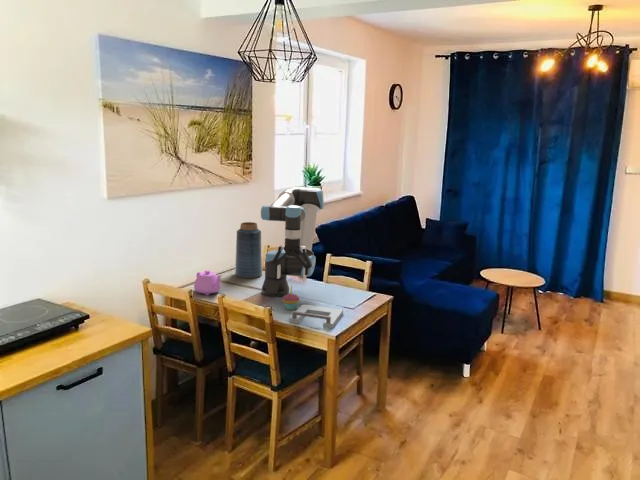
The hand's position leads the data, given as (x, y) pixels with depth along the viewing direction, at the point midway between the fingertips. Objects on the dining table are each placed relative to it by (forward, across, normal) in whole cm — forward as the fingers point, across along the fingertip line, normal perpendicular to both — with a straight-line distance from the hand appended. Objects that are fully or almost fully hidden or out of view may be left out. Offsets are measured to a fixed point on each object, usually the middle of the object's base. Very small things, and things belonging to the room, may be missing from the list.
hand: (291, 279), depth 260 cm
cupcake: (+15, 0, 0) cm, 15 cm away
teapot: (+15, -49, +6) cm, 52 cm away
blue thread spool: (+15, -43, +45) cm, 64 cm away
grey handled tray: (+15, +16, -8) cm, 23 cm away
